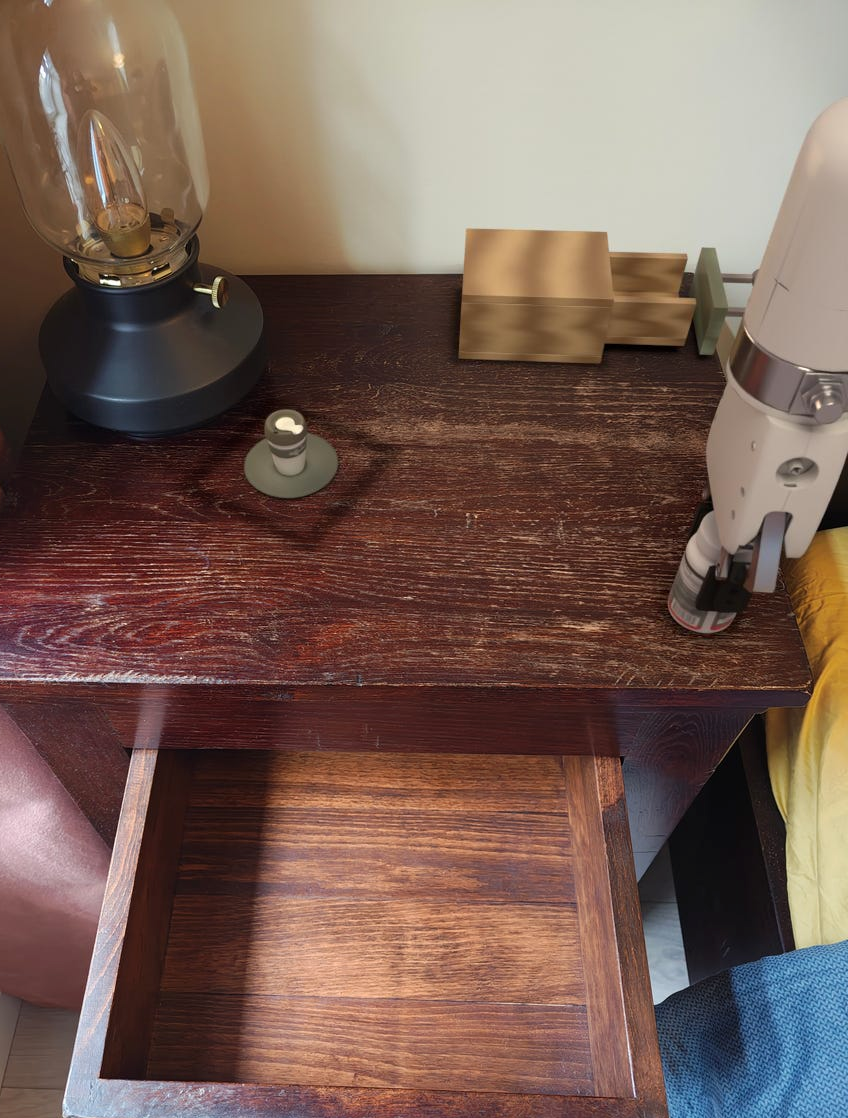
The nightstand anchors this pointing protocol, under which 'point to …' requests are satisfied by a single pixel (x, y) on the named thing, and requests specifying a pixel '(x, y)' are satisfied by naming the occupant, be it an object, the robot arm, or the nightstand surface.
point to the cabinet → (535, 295)
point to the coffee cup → (290, 458)
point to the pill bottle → (700, 579)
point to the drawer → (669, 299)
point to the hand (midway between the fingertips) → (714, 574)
